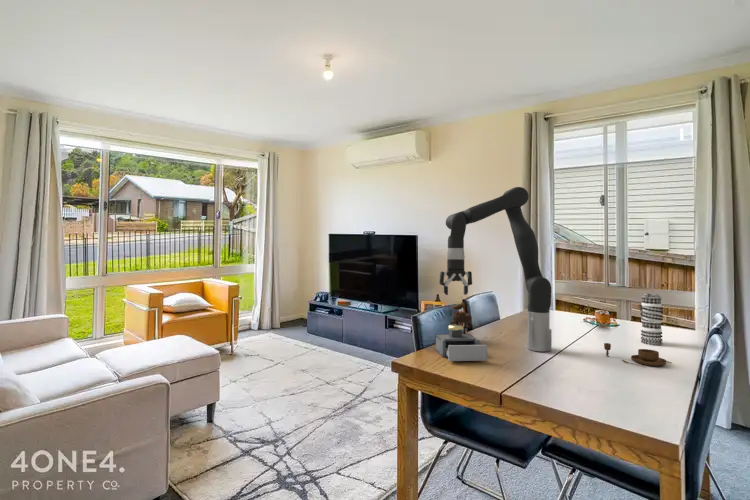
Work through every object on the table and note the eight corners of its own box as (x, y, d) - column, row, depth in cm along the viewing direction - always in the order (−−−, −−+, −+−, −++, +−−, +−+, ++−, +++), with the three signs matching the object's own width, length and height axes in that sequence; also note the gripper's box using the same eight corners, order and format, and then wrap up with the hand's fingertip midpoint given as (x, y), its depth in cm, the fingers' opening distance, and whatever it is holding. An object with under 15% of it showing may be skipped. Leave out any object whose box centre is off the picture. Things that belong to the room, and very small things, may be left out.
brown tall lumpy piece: (458, 346, 182) (458, 304, 183) (441, 342, 191) (441, 302, 192) (479, 342, 191) (479, 302, 192) (462, 338, 200) (462, 299, 200)
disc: (460, 328, 176) (460, 324, 176) (464, 330, 170) (464, 327, 170) (446, 328, 176) (446, 324, 176) (450, 331, 169) (450, 327, 169)
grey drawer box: (469, 349, 178) (469, 327, 178) (479, 356, 165) (479, 333, 165) (435, 349, 176) (435, 327, 176) (442, 357, 163) (442, 333, 164)
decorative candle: (642, 346, 183) (642, 294, 184) (637, 342, 192) (637, 292, 192) (666, 348, 180) (665, 295, 180) (659, 344, 189) (659, 293, 189)
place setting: (651, 369, 149) (651, 354, 149) (601, 357, 167) (601, 343, 167) (676, 363, 157) (676, 349, 157) (625, 352, 175) (625, 339, 175)
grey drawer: (476, 352, 168) (476, 338, 168) (486, 360, 155) (486, 345, 156) (441, 352, 167) (441, 339, 167) (448, 361, 154) (448, 345, 154)
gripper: (468, 258, 177) (468, 293, 177) (438, 258, 176) (438, 293, 176) (474, 258, 170) (474, 295, 169) (442, 258, 168) (442, 295, 168)
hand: (455, 294), depth 172 cm, fingers open, 8 cm apart
